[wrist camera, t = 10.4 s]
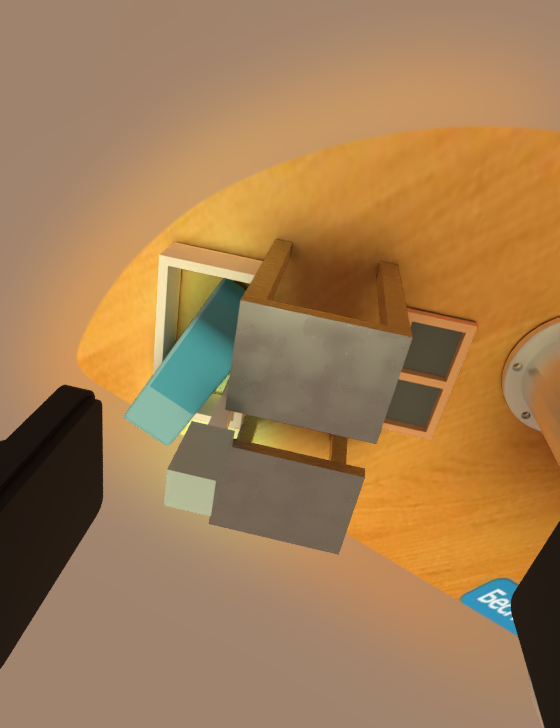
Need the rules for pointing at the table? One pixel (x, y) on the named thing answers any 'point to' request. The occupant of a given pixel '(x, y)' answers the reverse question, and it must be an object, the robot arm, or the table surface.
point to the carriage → (213, 441)
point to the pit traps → (428, 372)
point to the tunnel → (307, 406)
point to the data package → (190, 367)
